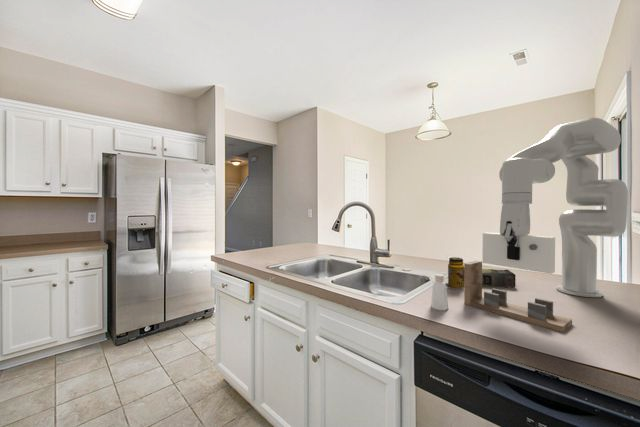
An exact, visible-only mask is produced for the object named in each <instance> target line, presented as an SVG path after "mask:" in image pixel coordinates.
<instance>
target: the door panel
mask: <svg viewBox="0 0 640 427" xmlns="http://www.w3.org/2000/svg"><path fill="white" fill-rule="evenodd" d="M511 236H515V235H511ZM504 237H505V236H502V235H501V234H500V232H482V258H481V259H482V264H487V265H494V266H500V267H504V268H505V267H506V268H507V267H508V268H513V269H520V270H526V271H531V272H538V273H544V274H554V273H555V272H556V237H555V236H543V235H530V234H528V235H523V236H519V246H518V247H520V260H512V259H507V241H506V239H505V238H504ZM514 239H515V238H514Z"/></svg>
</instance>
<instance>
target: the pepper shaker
mask: <svg viewBox="0 0 640 427" xmlns="http://www.w3.org/2000/svg"><path fill="white" fill-rule="evenodd" d="M434 279H435V280H434V281H433V284H432V292H431V300H430V301H431V302H430V307H431V308H432V309H434V310H437V311H447V310H449V302H448V293H447V288H446V284H445V283H446V282H445V275H444V274H441V273H440V274H439V273H436V274H435V275H434Z"/></svg>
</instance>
